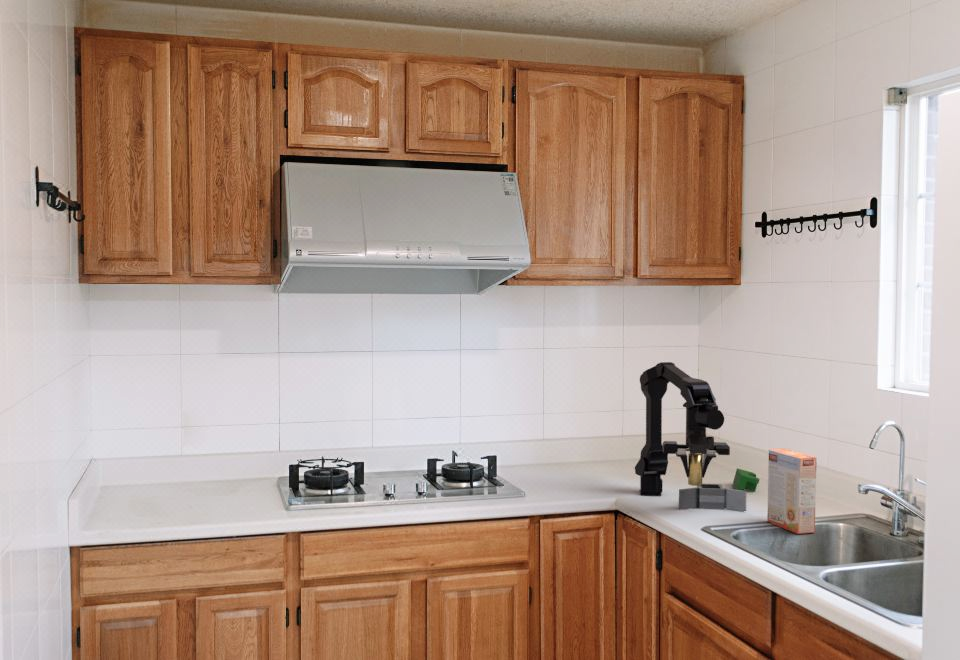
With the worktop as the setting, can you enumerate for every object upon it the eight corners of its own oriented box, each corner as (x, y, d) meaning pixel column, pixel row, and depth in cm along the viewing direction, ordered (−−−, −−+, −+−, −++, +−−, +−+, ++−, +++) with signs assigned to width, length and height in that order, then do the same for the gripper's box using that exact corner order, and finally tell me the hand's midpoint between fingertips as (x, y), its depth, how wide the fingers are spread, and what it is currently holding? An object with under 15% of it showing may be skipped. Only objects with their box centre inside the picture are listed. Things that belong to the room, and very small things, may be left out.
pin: (688, 485, 261) (689, 454, 260) (687, 482, 265) (687, 452, 264) (702, 485, 260) (703, 455, 260) (701, 482, 264) (701, 452, 264)
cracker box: (816, 533, 242) (817, 456, 241) (797, 535, 241) (798, 457, 240) (784, 520, 256) (786, 447, 255) (766, 522, 254) (767, 448, 253)
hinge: (679, 509, 268) (679, 489, 268) (676, 502, 277) (676, 482, 277) (746, 511, 265) (747, 491, 265) (741, 504, 275) (741, 484, 274)
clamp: (751, 505, 291) (760, 483, 287) (733, 500, 292) (741, 478, 287) (750, 484, 301) (758, 462, 297) (732, 479, 302) (740, 457, 298)
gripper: (665, 428, 255) (664, 482, 256) (733, 429, 252) (732, 484, 253) (662, 421, 266) (661, 474, 267) (727, 423, 263) (726, 475, 264)
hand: (695, 477), depth 262 cm, fingers closed on pin, 4 cm apart
